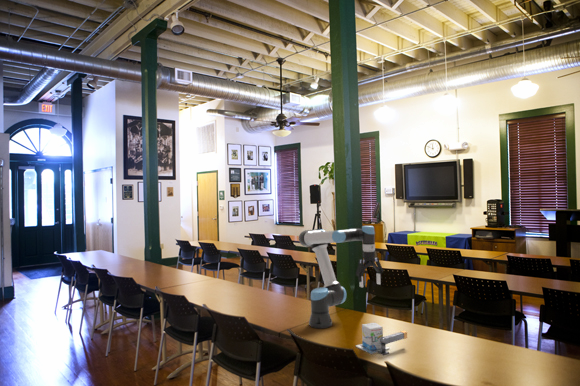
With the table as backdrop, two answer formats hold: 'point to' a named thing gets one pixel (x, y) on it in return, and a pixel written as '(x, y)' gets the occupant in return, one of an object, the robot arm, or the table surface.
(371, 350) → the label plate
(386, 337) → the swing arm
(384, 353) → the pivot post
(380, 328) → the ink box
